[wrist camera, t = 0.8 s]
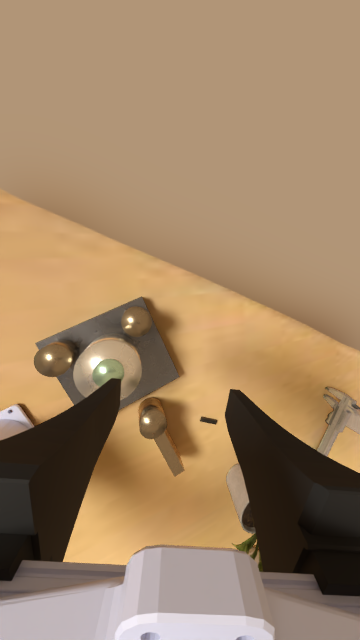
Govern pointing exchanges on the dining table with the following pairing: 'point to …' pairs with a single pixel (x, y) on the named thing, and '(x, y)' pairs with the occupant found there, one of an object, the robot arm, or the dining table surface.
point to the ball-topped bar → (159, 432)
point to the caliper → (337, 418)
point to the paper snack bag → (354, 422)
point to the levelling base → (146, 344)
